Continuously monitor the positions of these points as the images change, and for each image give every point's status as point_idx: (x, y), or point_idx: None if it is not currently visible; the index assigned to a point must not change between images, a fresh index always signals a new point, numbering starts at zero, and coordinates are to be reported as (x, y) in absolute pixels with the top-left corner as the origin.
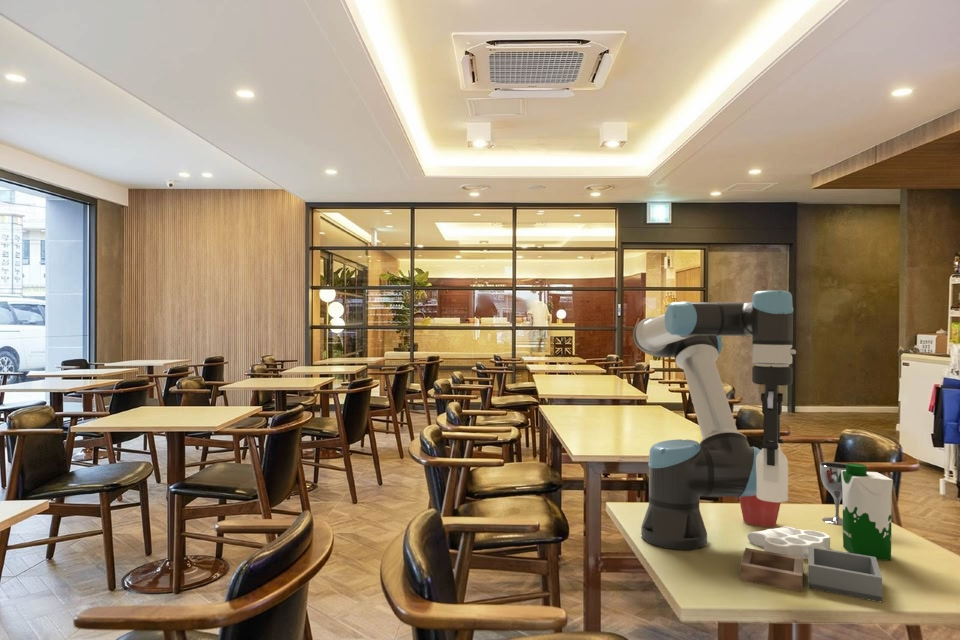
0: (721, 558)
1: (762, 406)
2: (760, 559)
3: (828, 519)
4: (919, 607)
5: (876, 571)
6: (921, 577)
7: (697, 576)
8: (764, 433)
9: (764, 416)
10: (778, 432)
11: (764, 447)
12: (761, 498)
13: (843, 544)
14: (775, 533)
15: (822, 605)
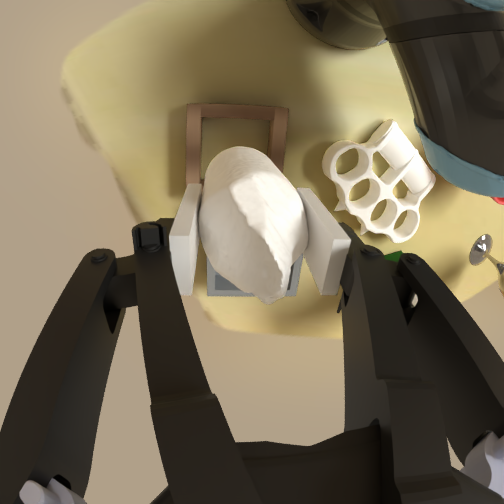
0: (281, 69)
1: (167, 473)
2: (271, 132)
3: (483, 242)
4: (216, 307)
5: (230, 292)
6: (317, 317)
7: (171, 43)
8: (63, 297)
9: (22, 385)
10: (343, 330)
11: (140, 245)
12: (211, 161)
13: (400, 252)
14: (401, 166)
15: (155, 214)
